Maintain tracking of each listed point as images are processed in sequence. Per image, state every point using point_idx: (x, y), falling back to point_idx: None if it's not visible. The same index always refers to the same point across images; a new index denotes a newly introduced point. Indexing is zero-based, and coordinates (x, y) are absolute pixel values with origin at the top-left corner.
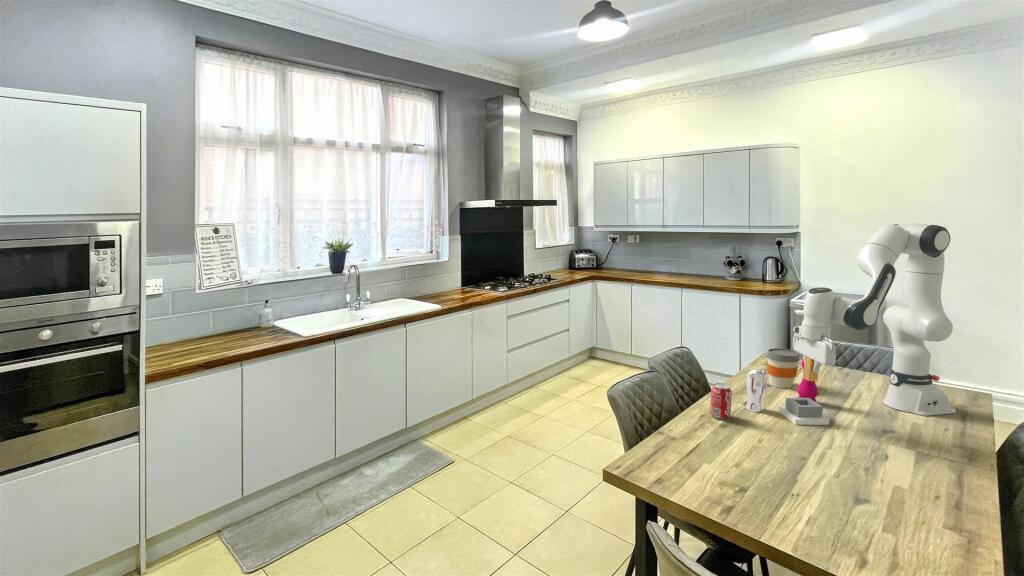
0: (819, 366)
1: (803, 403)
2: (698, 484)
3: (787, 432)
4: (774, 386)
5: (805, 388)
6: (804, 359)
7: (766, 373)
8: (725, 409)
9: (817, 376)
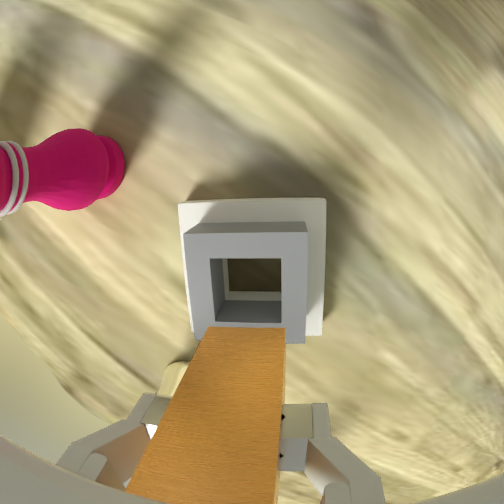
0: (351, 462)
1: (214, 267)
2: None
3: (373, 371)
4: (2, 217)
5: (78, 195)
6: (126, 478)
7: None
8: None
9: (284, 353)
